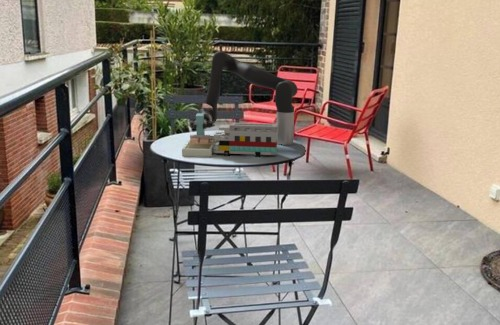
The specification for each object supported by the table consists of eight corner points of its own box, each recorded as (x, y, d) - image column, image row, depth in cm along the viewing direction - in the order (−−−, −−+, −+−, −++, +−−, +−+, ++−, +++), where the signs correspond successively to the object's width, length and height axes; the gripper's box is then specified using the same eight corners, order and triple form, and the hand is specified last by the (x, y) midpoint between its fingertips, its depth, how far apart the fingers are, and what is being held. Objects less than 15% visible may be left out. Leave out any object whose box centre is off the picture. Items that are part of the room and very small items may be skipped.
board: (193, 142, 265) (193, 135, 264) (215, 143, 265) (215, 135, 264) (187, 150, 248) (187, 142, 247) (211, 150, 247) (211, 143, 246)
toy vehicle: (216, 151, 246) (215, 121, 242) (276, 153, 243) (277, 123, 240) (213, 155, 238) (213, 124, 235) (275, 157, 236) (276, 126, 232)
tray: (185, 150, 247) (185, 144, 246) (213, 151, 247) (213, 144, 246) (182, 155, 237) (181, 149, 236) (211, 156, 236) (211, 149, 235)
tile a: (200, 141, 249) (200, 137, 248) (208, 141, 248) (208, 138, 248) (199, 143, 245) (199, 139, 244) (207, 143, 245) (207, 139, 244)
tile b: (191, 141, 249) (191, 137, 248) (199, 141, 249) (199, 138, 248) (190, 143, 245) (190, 139, 244) (198, 143, 245) (198, 139, 244)
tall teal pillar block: (191, 136, 253) (190, 113, 247) (211, 137, 253) (210, 113, 247) (190, 140, 249) (188, 116, 243) (210, 141, 249) (209, 117, 243)
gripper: (190, 113, 261) (184, 119, 244) (217, 113, 260) (213, 119, 243) (190, 127, 263) (185, 133, 246) (217, 127, 262) (213, 134, 245)
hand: (199, 126), depth 245 cm, fingers closed on tall teal pillar block, 3 cm apart
